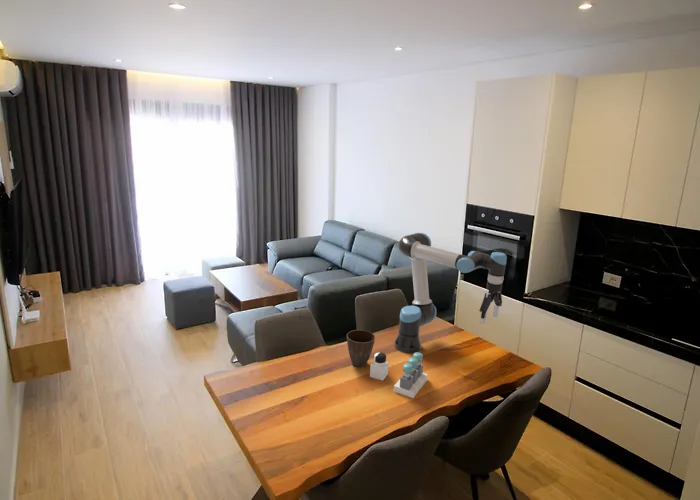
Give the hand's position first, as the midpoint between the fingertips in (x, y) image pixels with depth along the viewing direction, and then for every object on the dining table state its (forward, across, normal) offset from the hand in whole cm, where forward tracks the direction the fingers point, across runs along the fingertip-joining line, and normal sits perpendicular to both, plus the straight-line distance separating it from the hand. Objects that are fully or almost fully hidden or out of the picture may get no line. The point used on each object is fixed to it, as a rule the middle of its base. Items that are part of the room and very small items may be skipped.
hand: (488, 320), depth 228 cm
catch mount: (+26, -46, +13) cm, 55 cm away
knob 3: (+20, -40, +15) cm, 47 cm away
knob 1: (+20, -53, +11) cm, 58 cm away
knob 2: (+20, -46, +13) cm, 52 cm away
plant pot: (+27, -51, +44) cm, 72 cm away
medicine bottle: (+27, -52, +29) cm, 65 cm away
